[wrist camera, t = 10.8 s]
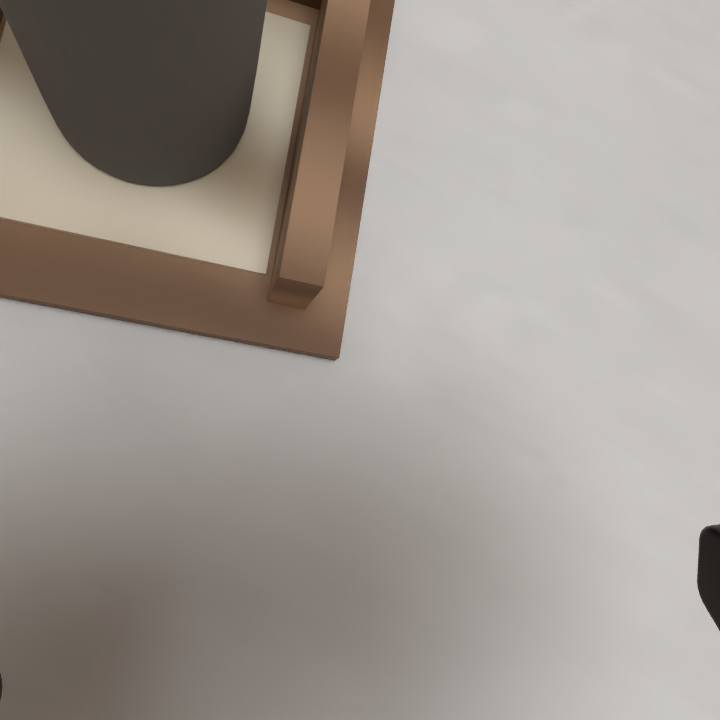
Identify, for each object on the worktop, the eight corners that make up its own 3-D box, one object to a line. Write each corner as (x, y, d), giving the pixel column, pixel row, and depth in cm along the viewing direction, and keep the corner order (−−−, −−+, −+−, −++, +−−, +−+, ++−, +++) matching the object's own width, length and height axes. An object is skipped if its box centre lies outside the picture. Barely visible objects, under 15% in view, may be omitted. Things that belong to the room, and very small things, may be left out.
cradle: (334, 360, 20) (363, 343, 16) (-164, 266, 17) (-258, 220, 13) (394, -19, 22) (430, -103, 19) (-34, -164, 19) (-85, -298, 16)
